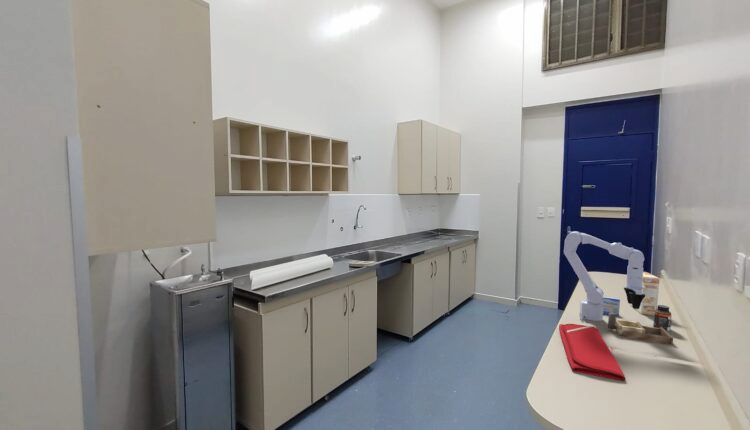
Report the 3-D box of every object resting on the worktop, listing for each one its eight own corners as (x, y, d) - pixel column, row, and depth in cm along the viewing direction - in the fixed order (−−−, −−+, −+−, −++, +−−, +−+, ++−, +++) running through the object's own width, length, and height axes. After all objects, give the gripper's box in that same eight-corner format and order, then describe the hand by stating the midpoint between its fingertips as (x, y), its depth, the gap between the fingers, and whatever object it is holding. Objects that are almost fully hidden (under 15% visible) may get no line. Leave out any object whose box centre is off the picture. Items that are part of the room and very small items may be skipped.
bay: (617, 340, 143) (617, 331, 142) (608, 326, 157) (609, 318, 157) (674, 349, 135) (675, 340, 135) (659, 334, 150) (660, 325, 149)
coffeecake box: (657, 316, 173) (660, 278, 172) (640, 314, 175) (643, 276, 174) (644, 306, 187) (647, 271, 186) (629, 305, 190) (631, 270, 188)
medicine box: (600, 314, 174) (601, 297, 174) (598, 311, 178) (599, 295, 178) (619, 316, 171) (620, 299, 171) (616, 313, 176) (617, 297, 175)
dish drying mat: (570, 372, 117) (571, 362, 117) (557, 329, 155) (557, 321, 155) (626, 383, 111) (626, 372, 111) (598, 335, 149) (598, 326, 149)
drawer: (610, 333, 147) (611, 316, 146) (605, 326, 155) (606, 310, 154) (644, 339, 142) (646, 321, 141) (638, 331, 150) (639, 314, 149)
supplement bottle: (673, 334, 151) (675, 309, 150) (658, 332, 152) (660, 307, 151) (664, 328, 157) (666, 304, 156) (650, 327, 158) (652, 303, 157)
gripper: (651, 281, 146) (649, 312, 147) (640, 274, 160) (639, 302, 160) (631, 279, 149) (629, 310, 150) (622, 272, 163) (621, 300, 163)
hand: (633, 306), depth 155 cm, fingers open, 7 cm apart
